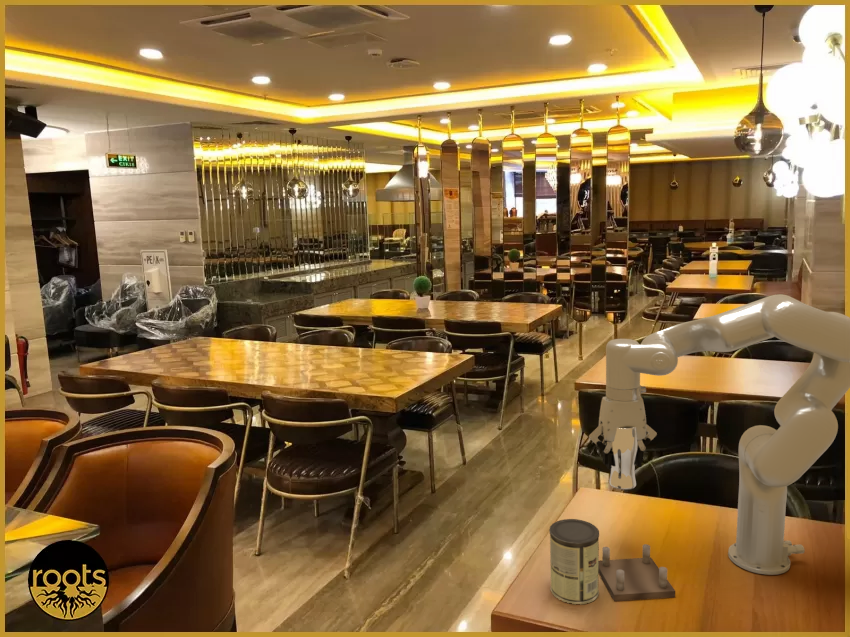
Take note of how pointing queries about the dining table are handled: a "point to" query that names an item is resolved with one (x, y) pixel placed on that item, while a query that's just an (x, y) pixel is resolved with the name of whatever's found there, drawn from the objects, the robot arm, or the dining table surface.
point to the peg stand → (634, 577)
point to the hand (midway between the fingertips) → (622, 465)
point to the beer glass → (624, 458)
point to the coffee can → (574, 561)
